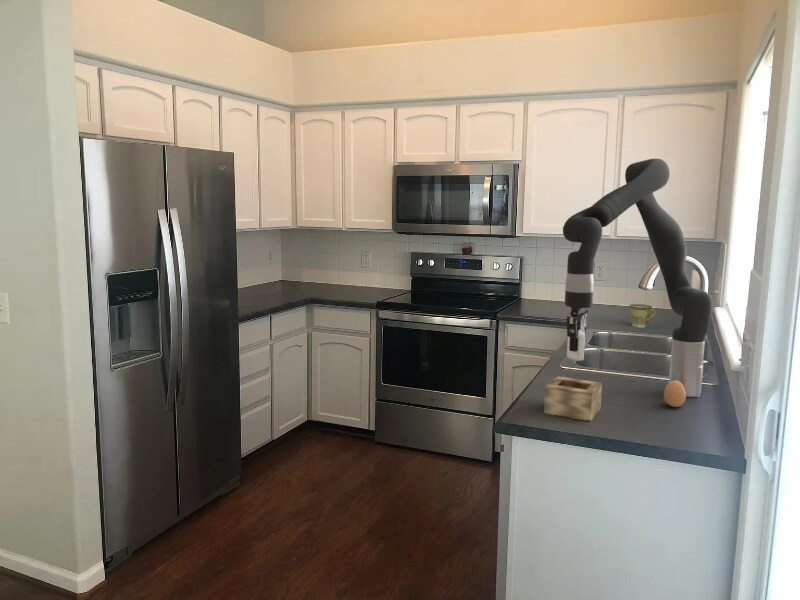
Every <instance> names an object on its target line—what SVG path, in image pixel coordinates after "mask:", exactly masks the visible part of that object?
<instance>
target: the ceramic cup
mask: <svg viewBox="0 0 800 600" xmlns="http://www.w3.org/2000/svg"><path fill="white" fill-rule="evenodd" d="M629 311H630V319H631V322H630V323H631V326H632V327H635V328H647V327H648V323H649V320H650V319H651V318H652V317H653V316H655V315H656V314H657V311H656V309H655V308H653V307H652V305H651V304H644V303H630V304H629ZM651 311H654V313H653V314H652V315H651V313H652V312H651Z"/></svg>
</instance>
